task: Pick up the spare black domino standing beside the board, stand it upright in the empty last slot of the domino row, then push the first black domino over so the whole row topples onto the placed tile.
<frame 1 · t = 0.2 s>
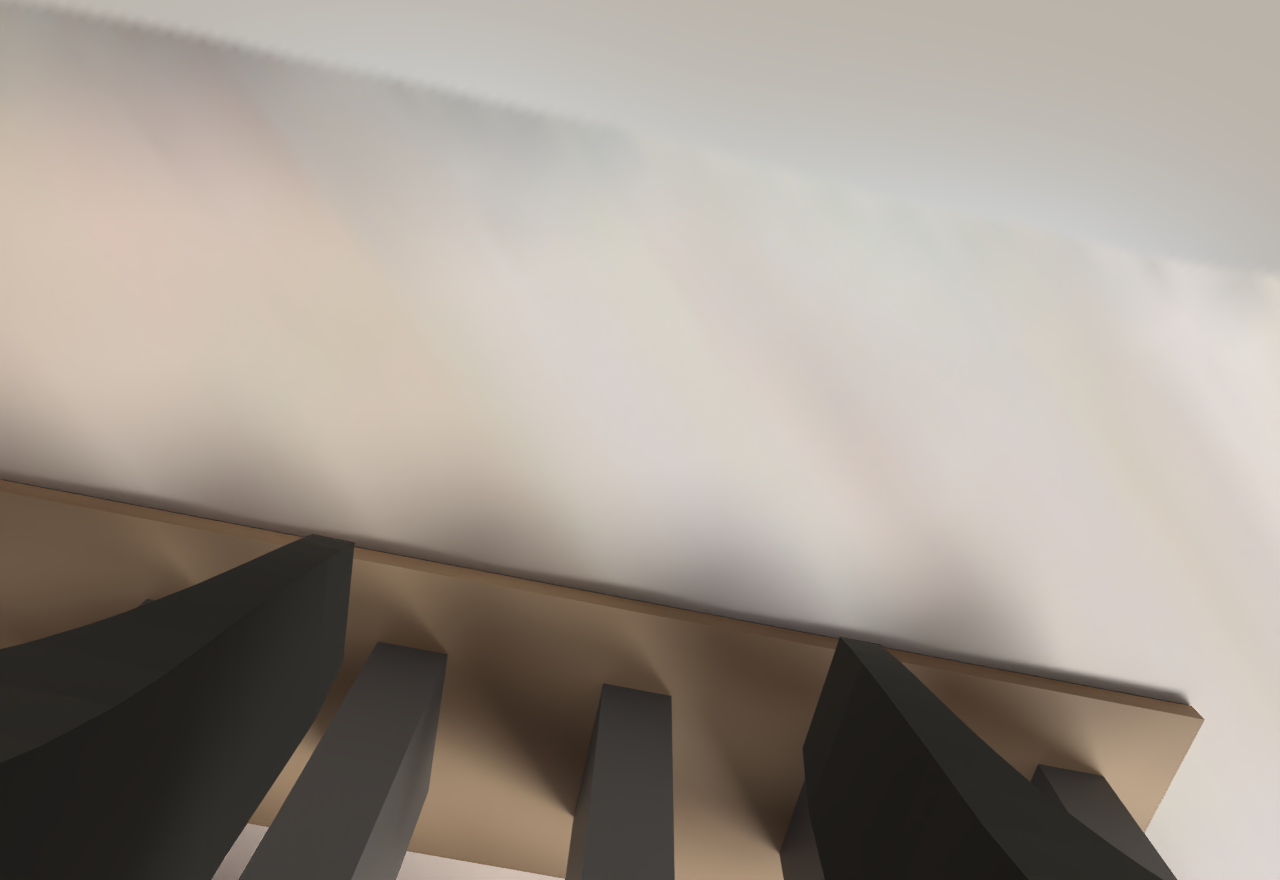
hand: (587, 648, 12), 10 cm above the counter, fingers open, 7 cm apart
domino 1: (1040, 834, 25), point 1 cm above the counter, touching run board
domino 2: (832, 797, 24), point 1 cm above the counter, touching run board
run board: (524, 726, 24), on the counter
domino 3: (620, 758, 24), point 1 cm above the counter, touching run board
domino 4: (404, 719, 24), point 1 cm above the counter, touching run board
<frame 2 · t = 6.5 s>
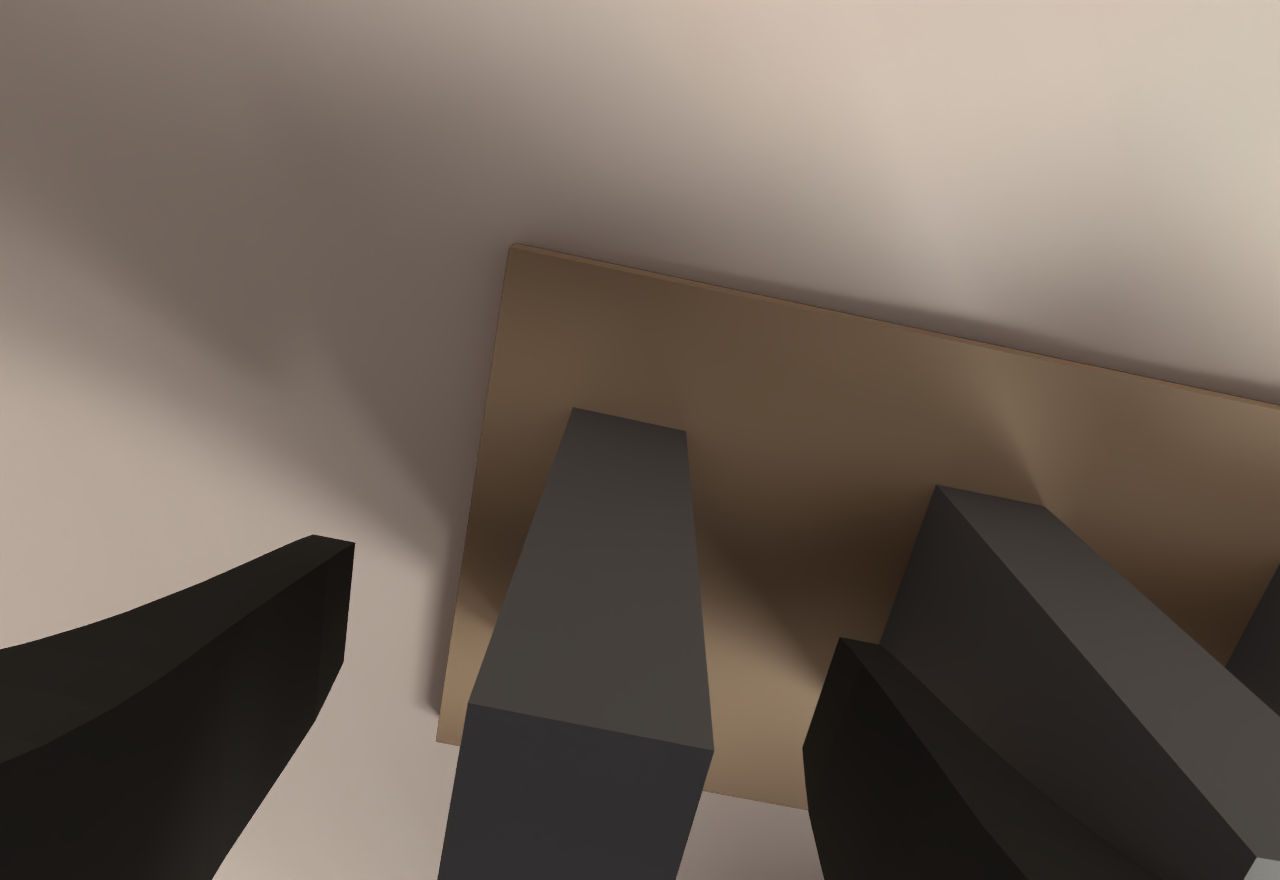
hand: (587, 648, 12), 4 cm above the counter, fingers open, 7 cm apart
domino 5: (944, 615, 15), point 1 cm above the counter, touching gripper, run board
domino 4: (1272, 680, 15), point 1 cm above the counter, touching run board
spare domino: (601, 545, 15), point 1 cm above the counter, touching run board
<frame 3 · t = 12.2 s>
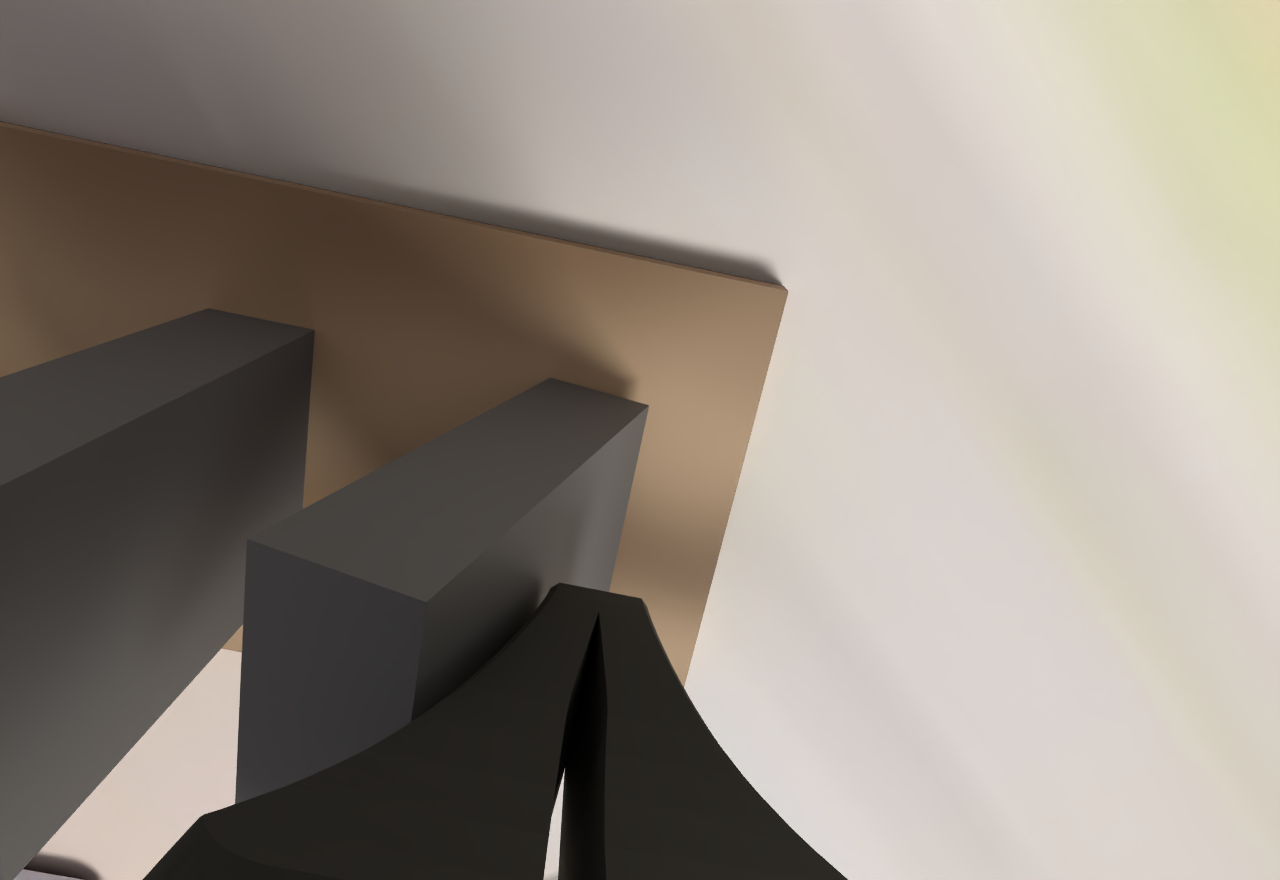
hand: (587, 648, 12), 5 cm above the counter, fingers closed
domino 1: (576, 510, 16), point 1 cm above the counter, tilted 15°, touching gripper, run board
domino 2: (256, 441, 16), point 1 cm above the counter, touching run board
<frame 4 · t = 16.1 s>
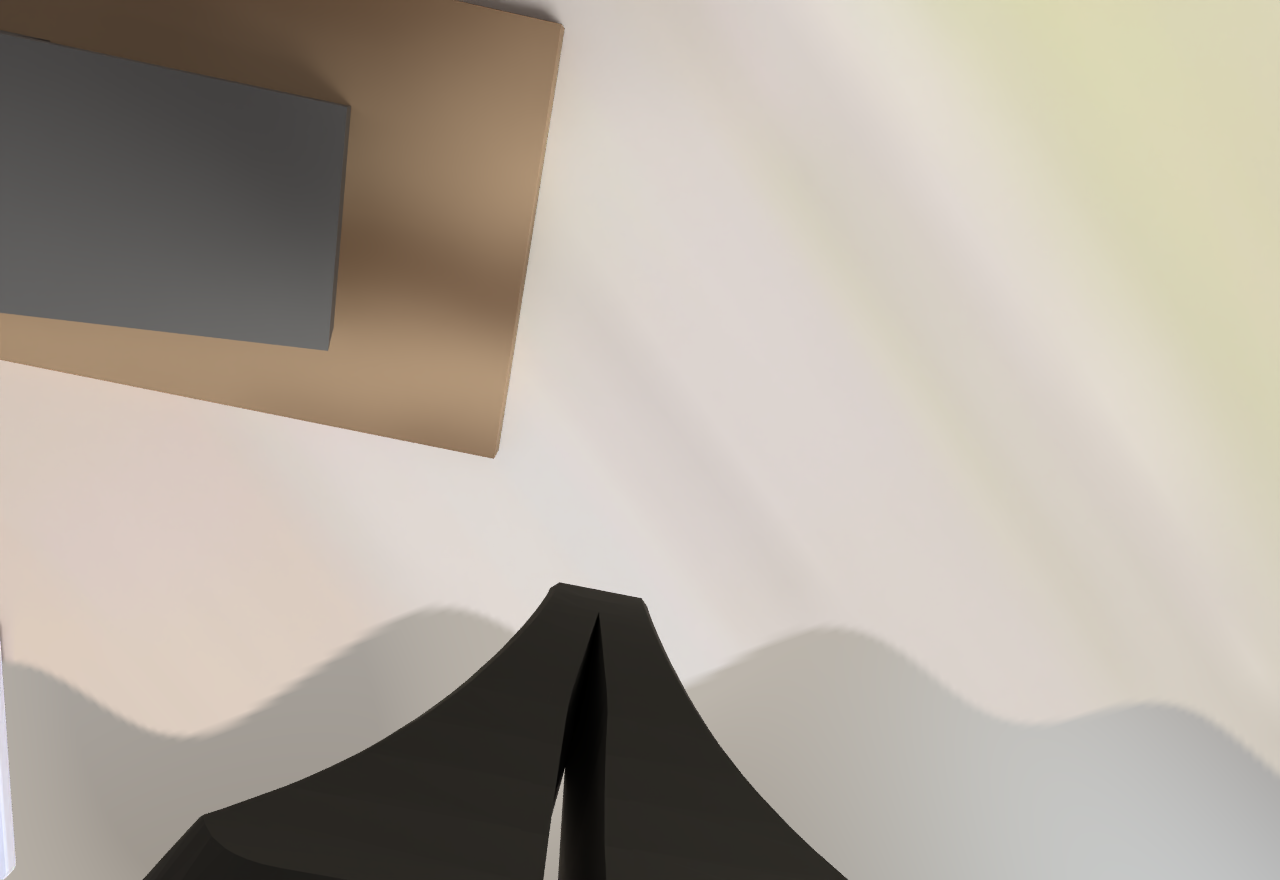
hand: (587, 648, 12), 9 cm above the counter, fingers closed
domino 1: (339, 228, 18), point 2 cm above the counter, tilted 72°, touching domino 2, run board
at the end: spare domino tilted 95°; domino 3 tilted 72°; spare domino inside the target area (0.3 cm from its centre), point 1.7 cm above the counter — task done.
